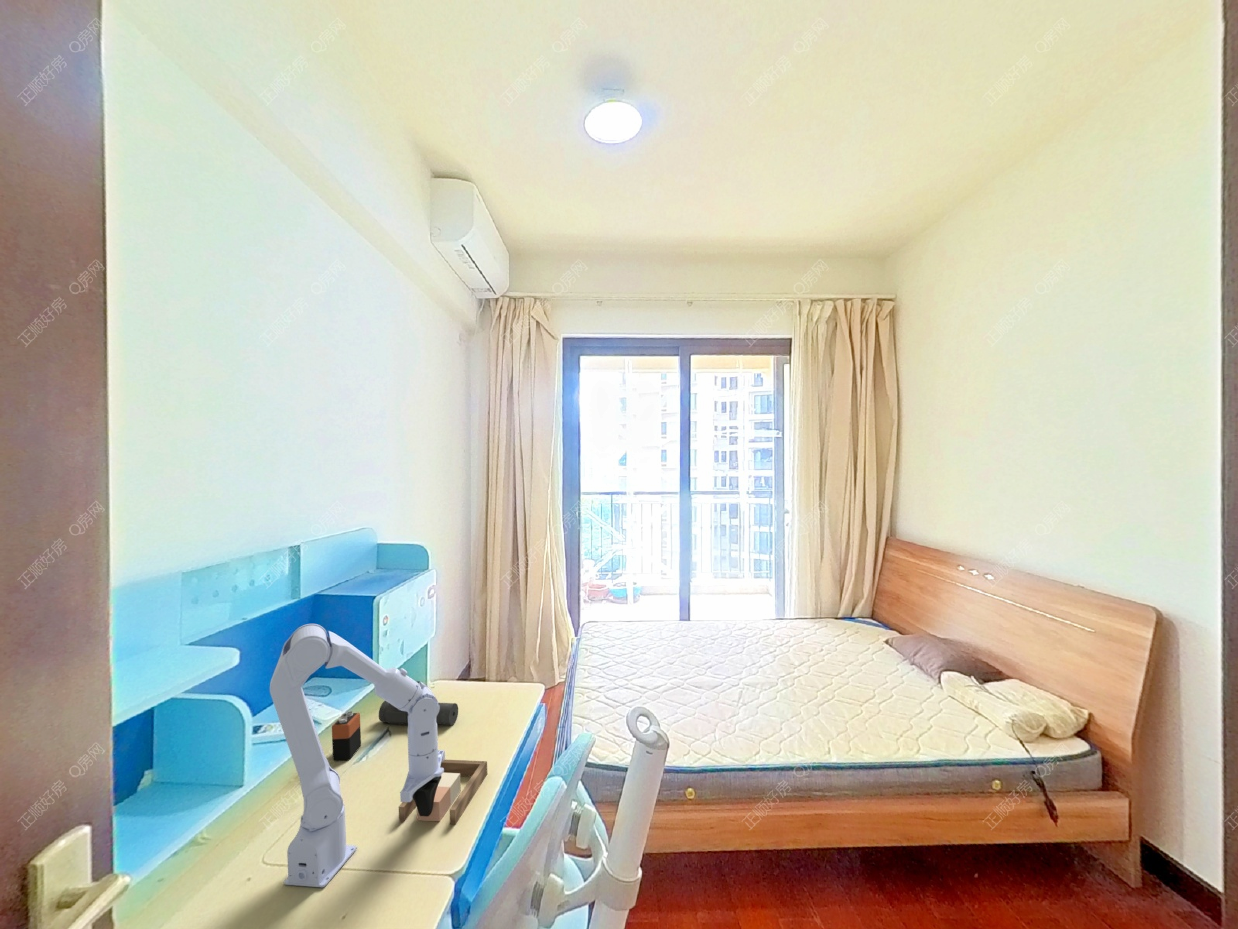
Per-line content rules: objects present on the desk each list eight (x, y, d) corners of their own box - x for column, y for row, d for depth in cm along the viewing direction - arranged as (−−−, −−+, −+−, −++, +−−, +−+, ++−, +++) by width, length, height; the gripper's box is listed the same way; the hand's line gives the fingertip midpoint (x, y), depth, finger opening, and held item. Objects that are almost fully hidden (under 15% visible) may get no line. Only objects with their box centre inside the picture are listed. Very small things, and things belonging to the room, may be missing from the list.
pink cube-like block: (439, 821, 107) (439, 802, 107) (417, 820, 108) (416, 801, 108) (450, 805, 112) (450, 787, 112) (429, 804, 113) (428, 786, 113)
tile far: (450, 805, 112) (450, 787, 112) (429, 804, 113) (428, 786, 113) (460, 791, 117) (460, 773, 117) (439, 790, 118) (439, 772, 118)
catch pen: (455, 824, 106) (455, 810, 106) (399, 821, 108) (398, 806, 108) (487, 774, 123) (487, 761, 123) (438, 771, 125) (437, 759, 125)
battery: (332, 762, 131) (330, 722, 131) (345, 747, 138) (343, 709, 138) (349, 760, 131) (348, 721, 131) (361, 746, 138) (360, 708, 138)
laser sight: (445, 733, 143) (444, 697, 143) (371, 730, 147) (370, 694, 147) (461, 716, 153) (460, 682, 153) (391, 713, 156) (390, 680, 156)
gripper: (423, 770, 99) (426, 841, 99) (457, 730, 113) (459, 792, 113) (389, 768, 100) (391, 839, 100) (426, 729, 114) (429, 791, 114)
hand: (425, 814), depth 107 cm, fingers closed
